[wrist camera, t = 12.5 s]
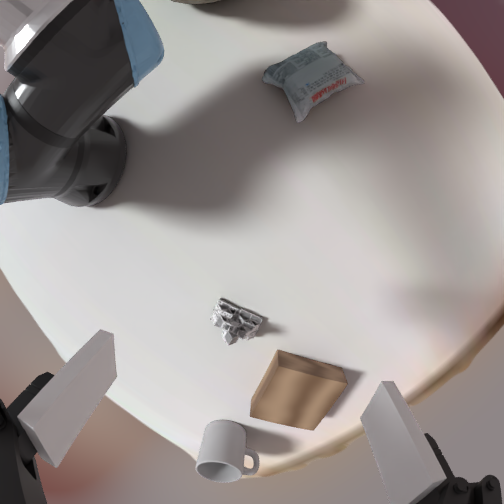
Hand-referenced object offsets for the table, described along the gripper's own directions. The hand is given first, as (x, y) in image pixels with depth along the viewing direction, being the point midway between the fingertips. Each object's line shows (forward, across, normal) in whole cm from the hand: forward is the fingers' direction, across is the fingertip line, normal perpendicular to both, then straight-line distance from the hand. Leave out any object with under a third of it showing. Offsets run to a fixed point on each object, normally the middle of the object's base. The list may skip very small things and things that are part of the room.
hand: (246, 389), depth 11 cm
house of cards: (+28, -2, -13) cm, 31 cm away
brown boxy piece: (+28, +12, -22) cm, 37 cm away
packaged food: (+30, +2, +22) cm, 37 cm away
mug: (+28, +3, -39) cm, 48 cm away
